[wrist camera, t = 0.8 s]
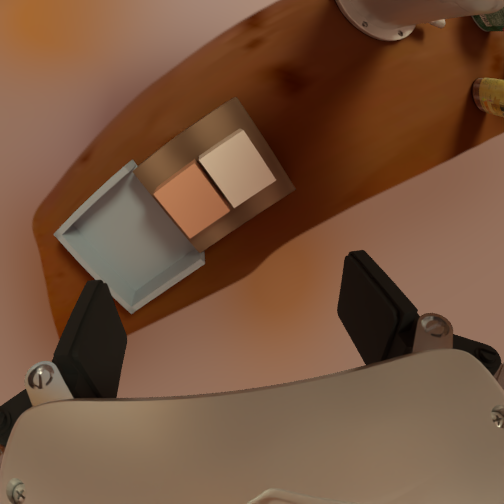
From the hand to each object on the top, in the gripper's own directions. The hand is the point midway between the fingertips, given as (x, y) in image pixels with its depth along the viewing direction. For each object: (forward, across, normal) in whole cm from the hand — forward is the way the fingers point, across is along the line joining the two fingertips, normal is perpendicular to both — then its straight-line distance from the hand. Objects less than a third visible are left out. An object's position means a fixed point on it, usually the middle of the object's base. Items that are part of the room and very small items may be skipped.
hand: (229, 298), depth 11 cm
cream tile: (+22, -2, 0) cm, 22 cm away
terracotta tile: (+21, +2, +2) cm, 22 cm away
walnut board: (+24, 0, +1) cm, 24 cm away
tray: (+24, +10, +7) cm, 27 cm away
